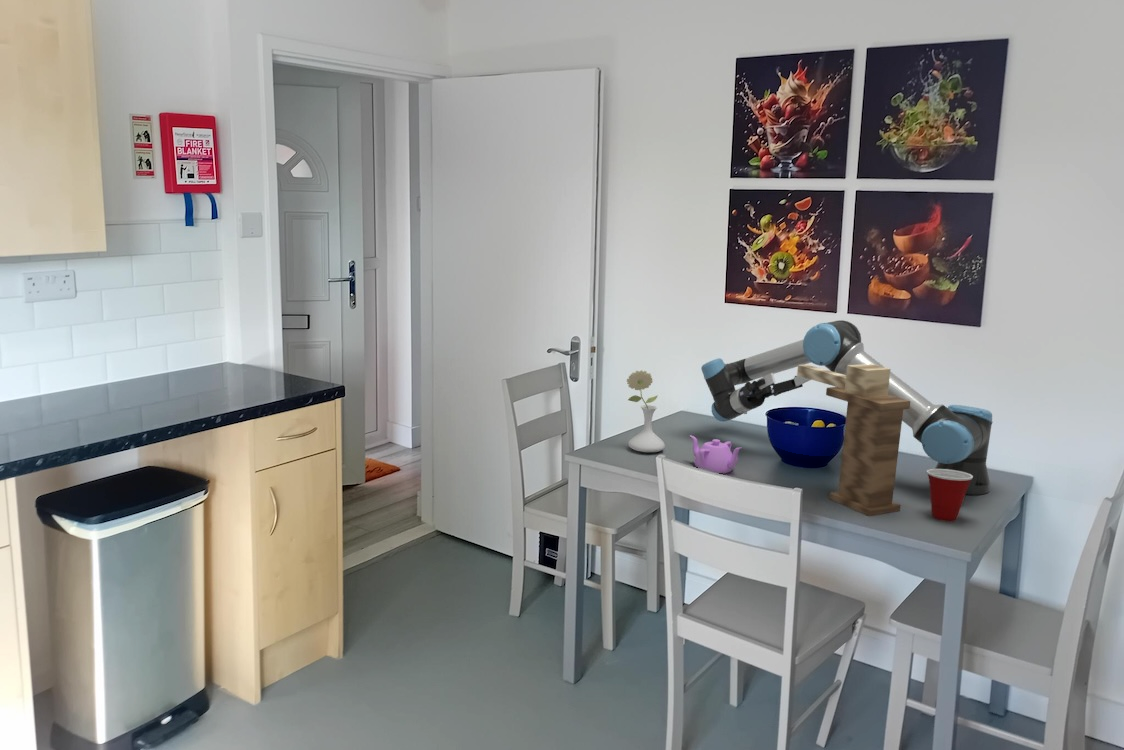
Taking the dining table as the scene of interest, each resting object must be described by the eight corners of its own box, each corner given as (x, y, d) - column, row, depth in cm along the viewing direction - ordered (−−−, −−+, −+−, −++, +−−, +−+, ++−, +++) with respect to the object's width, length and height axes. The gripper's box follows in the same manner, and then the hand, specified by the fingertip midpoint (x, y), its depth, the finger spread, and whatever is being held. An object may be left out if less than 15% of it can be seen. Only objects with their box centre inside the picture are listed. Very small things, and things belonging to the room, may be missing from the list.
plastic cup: (954, 510, 229) (960, 466, 226) (975, 525, 218) (981, 479, 216) (913, 509, 228) (919, 465, 226) (932, 524, 218) (938, 478, 215)
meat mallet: (887, 395, 226) (890, 369, 225) (864, 397, 223) (867, 370, 221) (811, 374, 251) (814, 350, 249) (790, 375, 247) (792, 351, 246)
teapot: (739, 476, 250) (742, 446, 248) (690, 474, 250) (693, 444, 249) (734, 464, 261) (736, 435, 260) (687, 461, 262) (689, 433, 260)
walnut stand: (900, 510, 227) (913, 401, 221) (868, 516, 222) (881, 404, 216) (844, 487, 244) (856, 385, 238) (814, 491, 239) (825, 387, 233)
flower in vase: (667, 447, 276) (672, 369, 271) (661, 457, 265) (667, 376, 260) (626, 442, 279) (630, 365, 274) (619, 452, 268) (623, 372, 263)
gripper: (782, 406, 275) (828, 386, 257) (717, 412, 264) (760, 391, 246) (776, 384, 277) (821, 361, 259) (712, 388, 266) (754, 366, 248)
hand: (791, 376), depth 252 cm, fingers open, 13 cm apart
